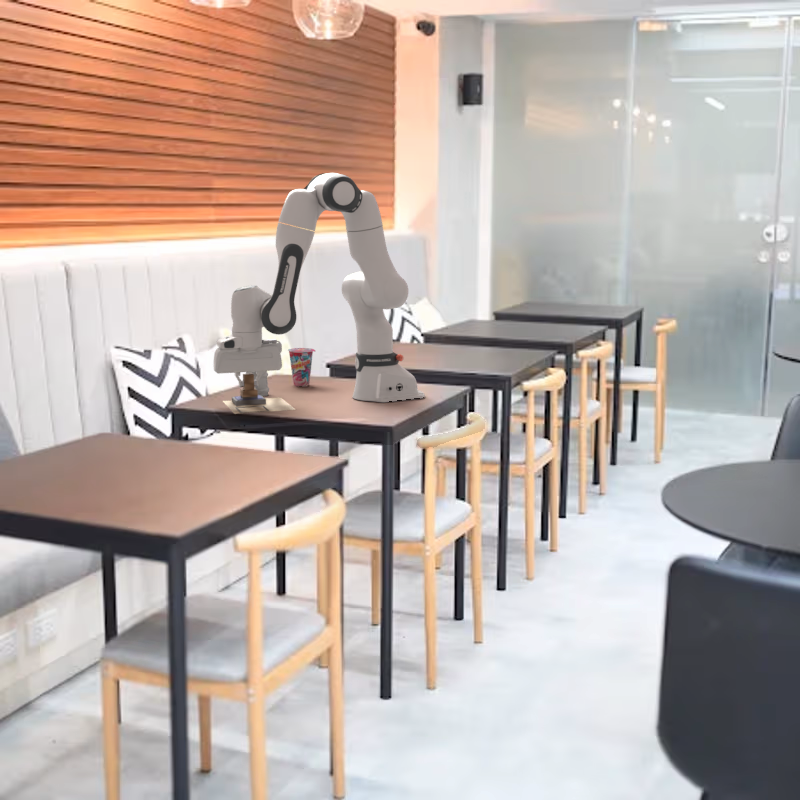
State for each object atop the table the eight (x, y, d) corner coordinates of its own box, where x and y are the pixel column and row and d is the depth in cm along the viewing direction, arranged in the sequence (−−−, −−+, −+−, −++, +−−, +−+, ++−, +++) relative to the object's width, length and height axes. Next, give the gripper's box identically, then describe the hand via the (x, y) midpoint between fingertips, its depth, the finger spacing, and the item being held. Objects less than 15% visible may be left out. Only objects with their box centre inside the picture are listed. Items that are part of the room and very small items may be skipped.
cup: (287, 387, 366) (286, 351, 364) (290, 383, 374) (289, 347, 372) (315, 387, 366) (314, 351, 363) (318, 383, 374) (317, 347, 372)
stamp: (254, 395, 336) (254, 372, 335) (257, 398, 332) (257, 375, 330) (240, 396, 334) (239, 373, 333) (243, 399, 330) (242, 375, 329)
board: (280, 400, 343) (280, 391, 342) (296, 413, 323) (295, 403, 323) (222, 404, 337) (222, 395, 337) (234, 417, 317) (234, 407, 317)
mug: (272, 393, 355) (271, 356, 353) (261, 400, 344) (260, 361, 342) (249, 392, 356) (248, 355, 354) (237, 399, 345) (236, 361, 343)
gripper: (279, 337, 336) (280, 382, 339) (211, 340, 330) (213, 386, 332) (283, 340, 330) (284, 386, 333) (215, 343, 324) (216, 390, 326)
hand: (248, 386), depth 333 cm, fingers closed on stamp, 3 cm apart
